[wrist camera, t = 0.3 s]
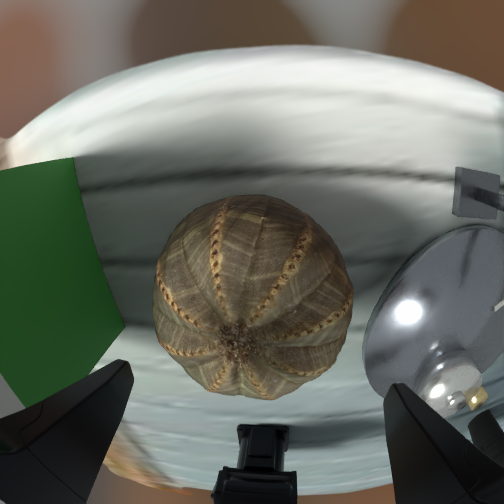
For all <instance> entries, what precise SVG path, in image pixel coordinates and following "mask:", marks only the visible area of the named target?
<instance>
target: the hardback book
mask: <svg viewBox="0 0 504 504" xmlns="http://www.w3.org/2000/svg"><path fill="white" fill-rule="evenodd" d="M124 328H125V324H124V322H123V320H122V317H121V315H120V313H119V310H118V308H117V306H116V303H115V301H114V298H113V296H112V293H111V291H110V288H109V285H108V283H107V280H106V277H105V274H104V272H103V269H102V266H101V263H100V260H99V257H98V254H97V251H96V248H95V245H94V242H93V238H92V235H91V232H90V228H89V225H88V221H87V218H86V214H85V210H84V206H83V202H82V198H81V194H80V190H79V185H78V181H77V176H76V171H75V166H74V161H73V157H72V158H65V159H58V160H52V161H46V162H40V163H34V164H29V165H24V166H19V167H15V168H10V169H6V170H1V171H0V418H2V417H5V416H8V415H10V414H13V413H16V412H18V411H20V410H23V409H25V408H27V407H29V406H31V405H33V404H36V403H37V402H39V401H41V400H44V399H45V398H47V397H49V396H51V395H53V394H55V393H57V392H58V391H60V390H62V389H64V388H66V387H68V386H70V385H71V384H73V383H75V382H77V381H79V380H81V379H82V378H84V377H86V376H88V374H89V373H90V372H91V370H92V369H93V368H94V366H95V365H96V364H97V362H98V361H99V360H100V358H101V357H102V356H103V355H104V353H105V352H106V351H107V349H108V348H109V347H110V346H111V344H112V343H113V342H114V340H115V339H116V338H117V337H118V335H119V334H120V333H121V332H122V330H123V329H124Z"/></svg>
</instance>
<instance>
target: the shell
mask: <svg viewBox="0 0 504 504" xmlns="http://www.w3.org/2000/svg"><path fill="white" fill-rule="evenodd" d="M353 289H354V288H353V285H352V283H351V281H350V279H349V276H348V274H347V271H346V268H345V264H344V261H343V258H342V256H341V253H340V251H339V249H338V247H337V246H336V244H335V243H334V241H333V240H332V238H331V237H330V236H329V235H328V234H327V232H326V231H325V230H324V229H323V228H322V227H321V226H320V225H318V224H317V223H316V222H315V221H314V220H313V219H312V218H311V217H310V216H309V215H307V214H306V213H304V212H302V211H300V210H298V209H297V208H295V207H293V206H292V205H290V204H288V203H287V202H285V201H283V200H280V199H278V198H274V197H271V196H266V195H240V196H232V197H228V198H225V199H222V200H218V201H215V202H211V203H208V204H205V205H203V206H200V207H198V208H197V209H195V210H193V211H192V212H191V213H190V214H188V215H187V216H186V217H185V218H184V219H183V220H182V221H181V222H180V223H179V224H178V225H177V227H176V228H175V230H174V232H173V233H172V234H171V235H170V237H169V238H168V241H167V243H166V245H165V247H164V249H163V252H162V254H161V256H160V258H159V259H158V260H157V265H156V274H155V280H154V288H153V303H152V313H153V319H154V323H155V328H156V335H157V338H158V341H159V343H160V344H161V346H162V347H163V348H164V349H165V350H166V351H167V352H168V353H169V355H170V356H171V357H172V358H173V359H174V360H175V361H176V362H178V363H179V364H180V365H181V366H182V367H183V368H184V370H185V371H186V373H187V374H188V375H189V376H190V377H191V378H192V379H194V380H195V381H196V382H197V383H199V384H200V385H201V386H203V387H204V388H205V389H206V390H207V391H209V392H213V393H219V394H223V395H231V396H235V395H244V396H246V397H250V398H255V399H262V400H275V399H277V398H279V397H281V396H283V395H286V394H289V393H291V392H293V391H295V390H296V389H298V388H299V387H300V386H301V385H302V384H304V383H306V382H309V381H312V380H314V379H316V378H318V377H319V376H320V375H321V374H322V373H324V372H325V371H327V370H328V369H329V368H331V366H332V365H333V364H334V363H335V361H336V358H337V355H338V353H339V352H340V351H341V348H342V346H343V344H344V342H345V340H346V335H347V329H348V326H349V324H350V321H351V317H352V307H353V295H354V292H353Z"/></svg>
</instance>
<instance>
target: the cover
mask: <svg viewBox="0 0 504 504" xmlns="http://www.w3.org/2000/svg"><path fill="white" fill-rule="evenodd" d="M481 384H482V375H481V373H480V372H479V370H478V369H477V367H476V366H475V364H474V363H473V361H472V360H471V358H470V357H469V355H468V354H467V352H465V351H464V350H460V349H456V350H451V351H448V352H446V353H443V354H441V355H440V356H438V357H436V358H435V359H434V360H432V361H431V362H430V363H429V364H427V365H426V366H425V367H424V368H423V369H422V371H421V372H420V373H419V375H418V376H417V378H416V380H415V382H414V385H413V391H414V392H415V393H416V394H417V395H418V396H419V397H420V398H421V399H423V400H424V401H425V402H426V403H427V404H428V405H429V406H431V407H432V408H433V409H434V410H435V411H436V412H437V413H438V414H440V415H441V416H442V417H443V418H446V417H448V416H450V415H452V414H454V413H456V412H457V411H459V410H460V409H462V408H463V407H464V406H466V405H467V404H468V403H469V402H470V401H471V400H472V399H473V398H474V396H475V395H476V394H477V392H478V391H479V389H480V387H481Z"/></svg>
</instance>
